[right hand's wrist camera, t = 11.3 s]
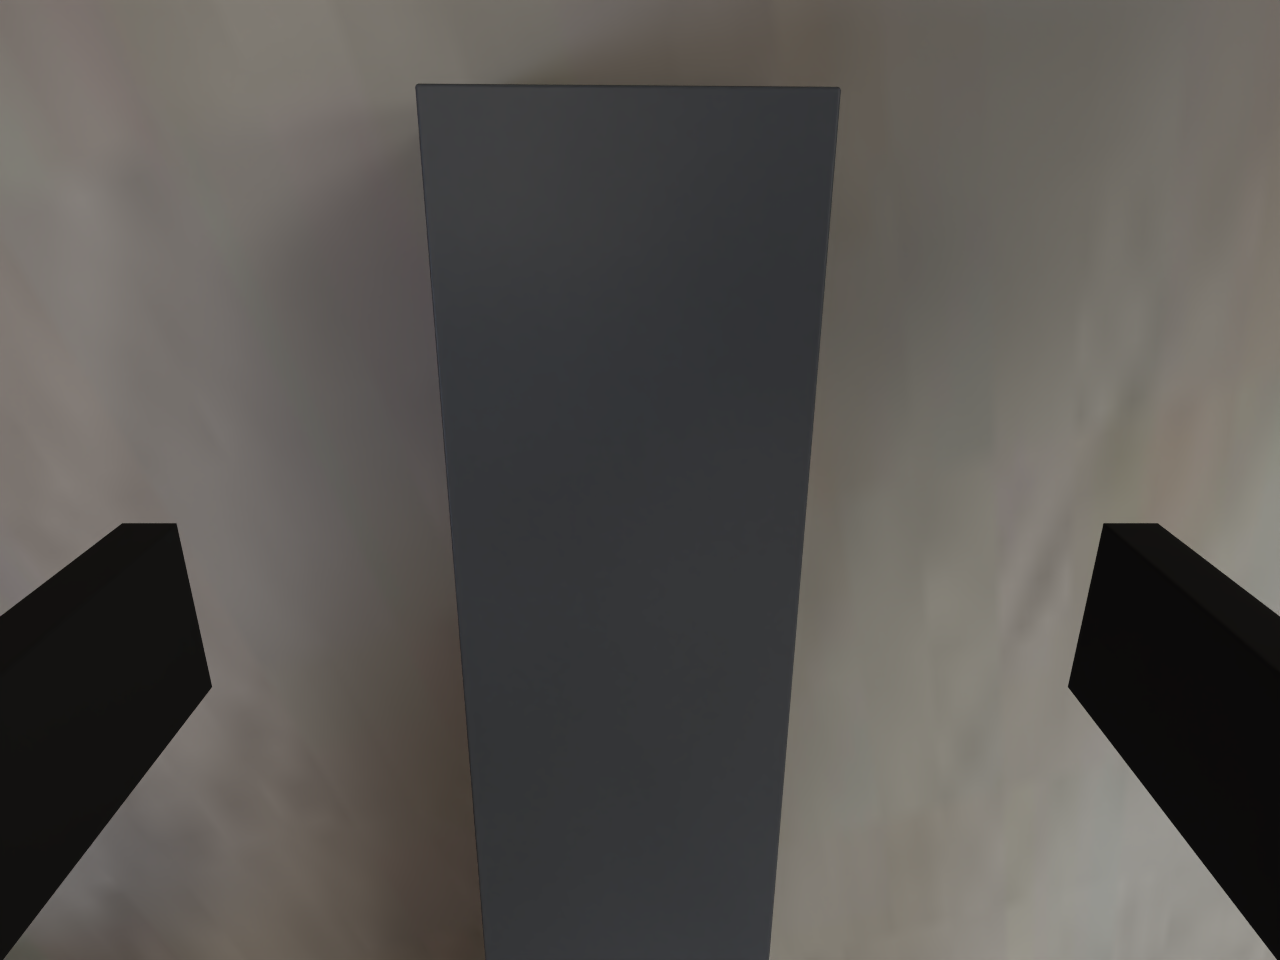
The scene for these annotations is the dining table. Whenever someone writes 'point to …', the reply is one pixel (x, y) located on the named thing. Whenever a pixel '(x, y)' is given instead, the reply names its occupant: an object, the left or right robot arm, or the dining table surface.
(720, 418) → the wide beam
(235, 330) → the dining table surface
